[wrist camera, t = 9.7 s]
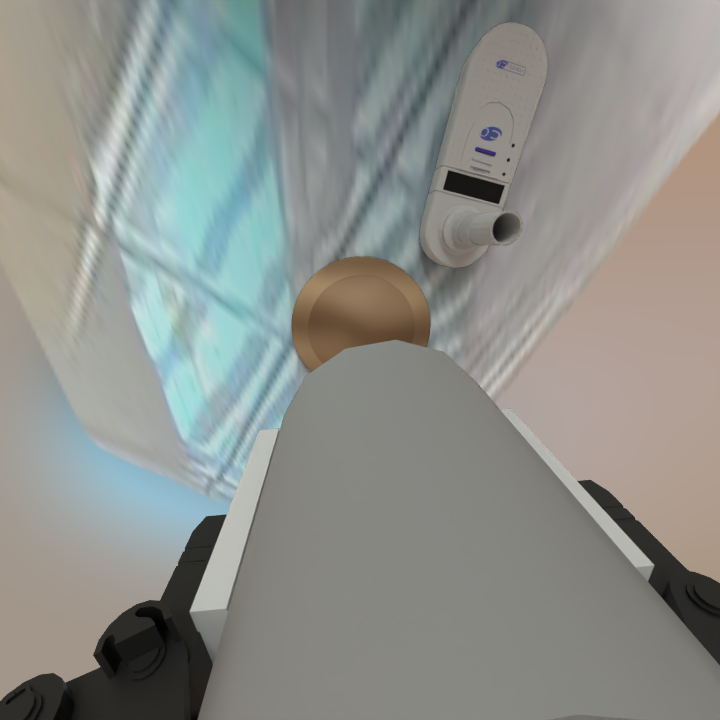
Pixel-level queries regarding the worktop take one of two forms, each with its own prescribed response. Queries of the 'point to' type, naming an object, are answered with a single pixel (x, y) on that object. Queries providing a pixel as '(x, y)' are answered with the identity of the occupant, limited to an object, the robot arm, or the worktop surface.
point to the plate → (357, 309)
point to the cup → (437, 570)
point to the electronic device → (484, 147)
